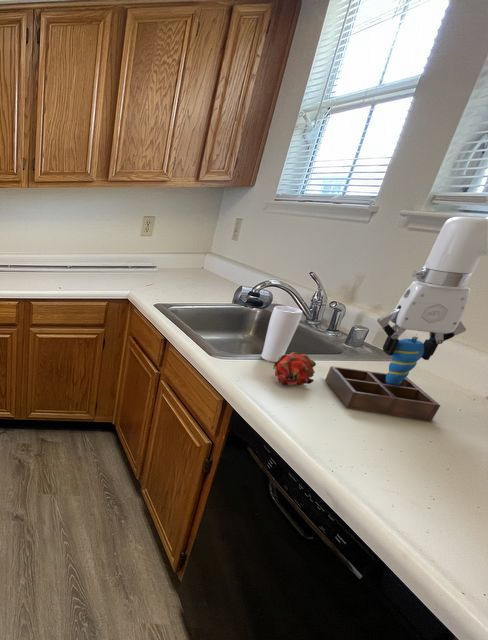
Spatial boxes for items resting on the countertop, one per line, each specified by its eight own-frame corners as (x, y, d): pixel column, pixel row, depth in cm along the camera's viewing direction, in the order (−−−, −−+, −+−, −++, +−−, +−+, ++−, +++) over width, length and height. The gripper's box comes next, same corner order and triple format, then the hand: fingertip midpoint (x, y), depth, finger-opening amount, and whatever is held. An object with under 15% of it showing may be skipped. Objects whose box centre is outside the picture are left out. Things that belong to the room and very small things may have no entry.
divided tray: (398, 390, 104) (405, 376, 102) (431, 421, 91) (440, 405, 89) (324, 380, 109) (330, 365, 107) (346, 407, 96) (353, 392, 94)
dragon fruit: (293, 380, 112) (285, 402, 104) (269, 357, 113) (259, 377, 106) (325, 363, 105) (319, 385, 98) (299, 339, 106) (291, 359, 99)
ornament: (371, 391, 101) (399, 333, 95) (375, 385, 105) (402, 328, 98) (400, 399, 98) (431, 340, 91) (402, 392, 101) (432, 334, 95)
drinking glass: (254, 353, 124) (269, 304, 118) (279, 355, 123) (296, 306, 116) (262, 362, 118) (279, 311, 112) (289, 365, 117) (307, 313, 110)
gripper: (401, 278, 89) (366, 355, 97) (508, 286, 83) (462, 368, 91) (385, 271, 95) (354, 344, 103) (484, 278, 90) (443, 355, 97)
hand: (405, 354), depth 97 cm, fingers open, 6 cm apart
